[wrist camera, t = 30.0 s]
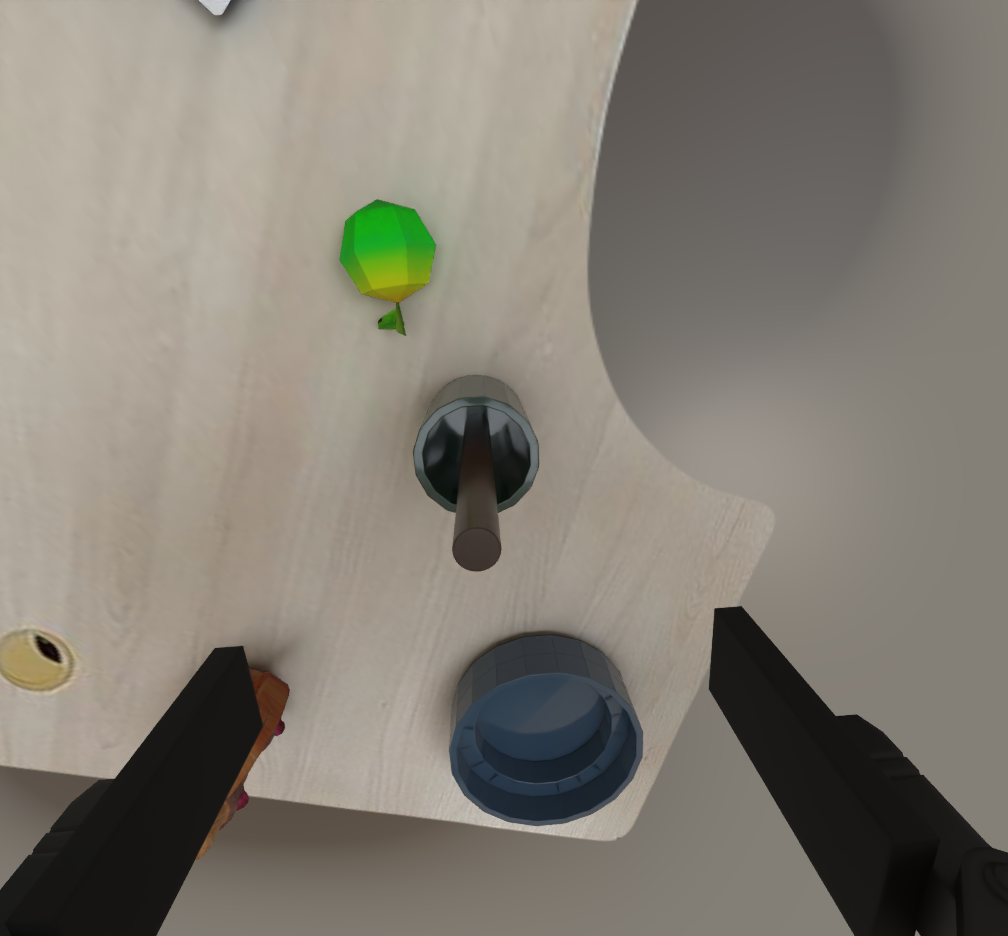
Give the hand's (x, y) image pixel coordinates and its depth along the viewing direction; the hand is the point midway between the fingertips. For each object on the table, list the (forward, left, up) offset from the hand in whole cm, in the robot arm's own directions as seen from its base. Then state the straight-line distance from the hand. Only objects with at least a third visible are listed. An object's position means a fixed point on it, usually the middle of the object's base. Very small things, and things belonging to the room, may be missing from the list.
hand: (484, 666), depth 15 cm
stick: (0, 0, -29) cm, 29 cm away
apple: (+5, -12, -30) cm, 33 cm away
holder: (0, 0, -30) cm, 30 cm away
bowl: (-4, +29, -30) cm, 42 cm away
